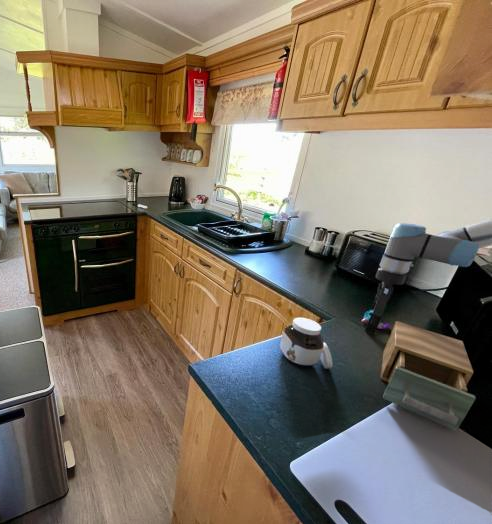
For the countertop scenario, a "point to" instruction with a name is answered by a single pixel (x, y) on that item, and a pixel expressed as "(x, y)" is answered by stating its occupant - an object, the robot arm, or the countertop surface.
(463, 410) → the drawer
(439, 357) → the cabinet
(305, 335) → the spread jar
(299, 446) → the countertop surface
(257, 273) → the countertop surface
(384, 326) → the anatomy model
